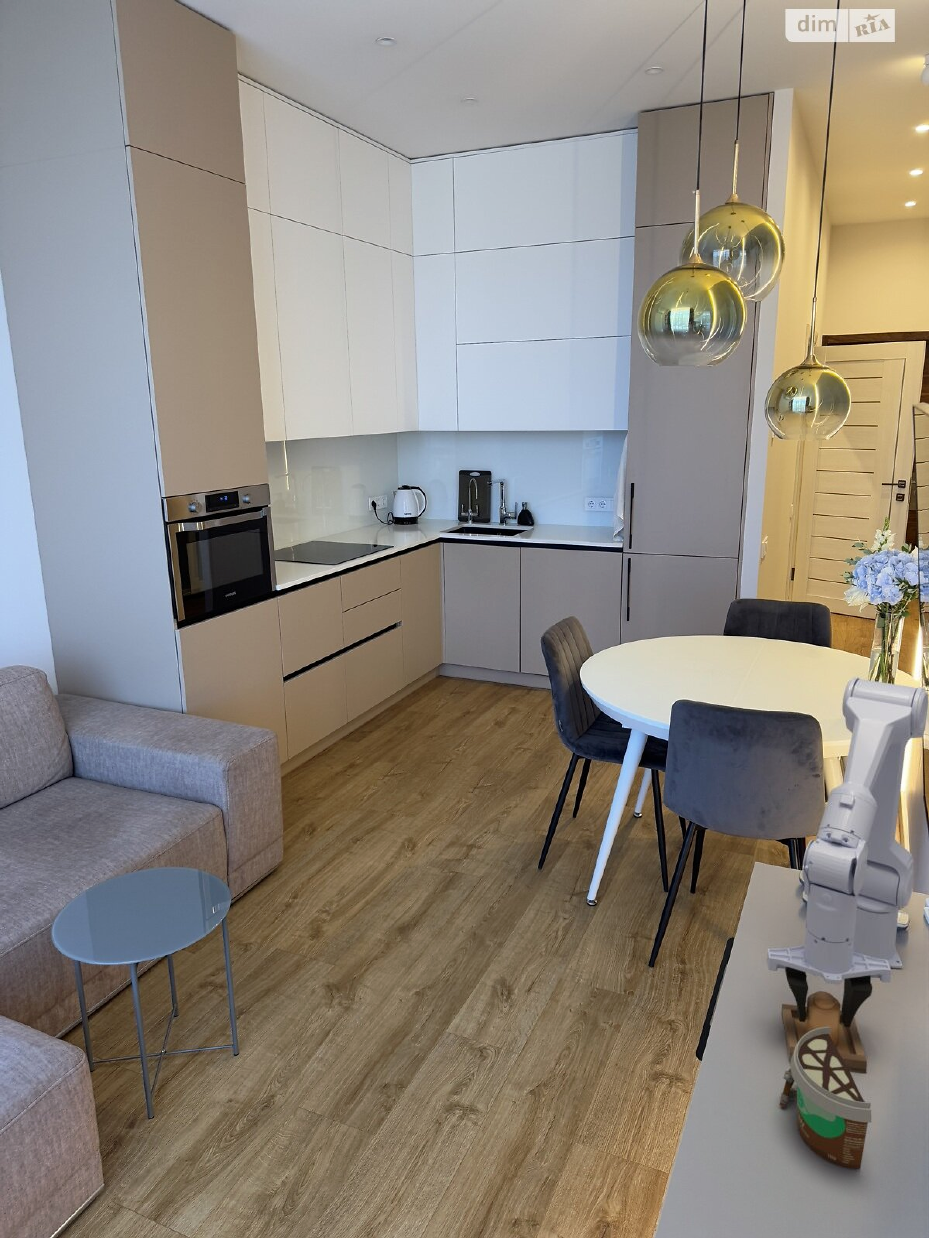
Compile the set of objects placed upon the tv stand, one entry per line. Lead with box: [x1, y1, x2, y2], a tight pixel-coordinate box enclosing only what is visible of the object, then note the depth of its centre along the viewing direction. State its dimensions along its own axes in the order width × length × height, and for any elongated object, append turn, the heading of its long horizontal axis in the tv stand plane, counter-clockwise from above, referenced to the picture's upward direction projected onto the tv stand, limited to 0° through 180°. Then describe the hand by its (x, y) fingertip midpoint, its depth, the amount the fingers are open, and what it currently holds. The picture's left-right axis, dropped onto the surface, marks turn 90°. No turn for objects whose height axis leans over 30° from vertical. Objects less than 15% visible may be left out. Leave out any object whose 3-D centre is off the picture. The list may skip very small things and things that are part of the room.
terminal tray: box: [781, 1003, 868, 1074], centre depth 112 cm, size 9×9×2 cm
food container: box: [789, 1027, 872, 1170], centre depth 97 cm, size 12×6×10 cm, turn 178°
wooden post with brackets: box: [779, 1067, 797, 1108], centre depth 104 cm, size 2×8×4 cm, turn 132°
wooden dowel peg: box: [806, 990, 842, 1046], centre depth 111 cm, size 4×4×6 cm
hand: (823, 1018), depth 111 cm, fingers open, 5 cm apart
